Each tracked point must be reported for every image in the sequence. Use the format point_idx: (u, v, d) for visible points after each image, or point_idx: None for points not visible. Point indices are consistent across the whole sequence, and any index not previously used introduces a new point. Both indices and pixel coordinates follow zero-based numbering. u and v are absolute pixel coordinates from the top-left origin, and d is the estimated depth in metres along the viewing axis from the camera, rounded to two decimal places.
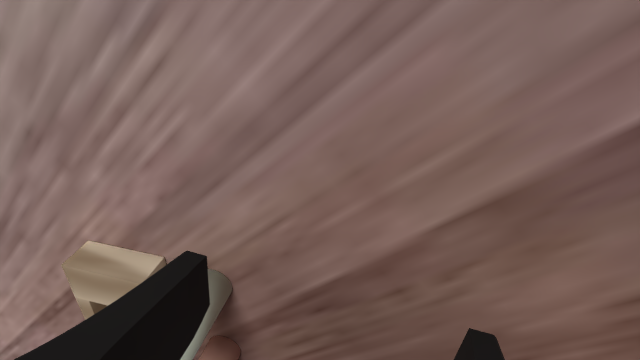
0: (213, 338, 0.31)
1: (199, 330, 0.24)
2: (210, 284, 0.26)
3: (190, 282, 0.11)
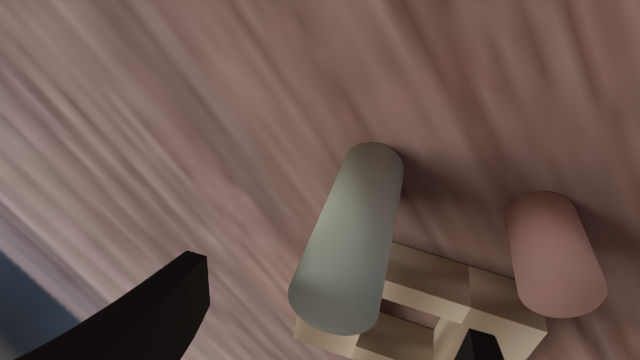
0: (506, 226, 0.17)
1: (346, 197, 0.14)
2: (342, 166, 0.17)
3: (190, 282, 0.11)
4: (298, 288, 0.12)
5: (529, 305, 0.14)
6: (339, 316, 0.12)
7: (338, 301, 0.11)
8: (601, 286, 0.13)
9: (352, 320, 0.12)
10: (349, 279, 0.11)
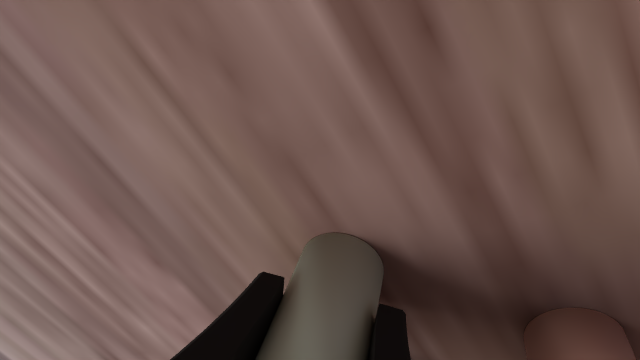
0: (525, 348, 0.12)
1: (286, 350, 0.09)
2: (295, 269, 0.12)
3: (272, 306, 0.10)
4: None
5: None
6: None
7: None
8: None
9: None
10: None
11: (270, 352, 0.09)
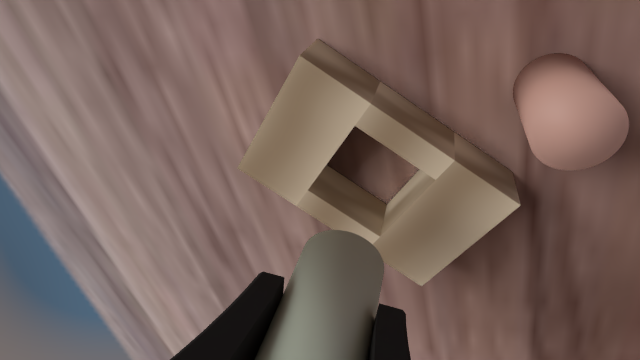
0: (514, 87, 0.16)
1: (287, 343, 0.09)
2: (296, 266, 0.12)
3: (272, 305, 0.10)
4: None
5: (535, 147, 0.13)
6: None
7: None
8: (620, 134, 0.12)
9: None
10: None
11: (271, 346, 0.09)
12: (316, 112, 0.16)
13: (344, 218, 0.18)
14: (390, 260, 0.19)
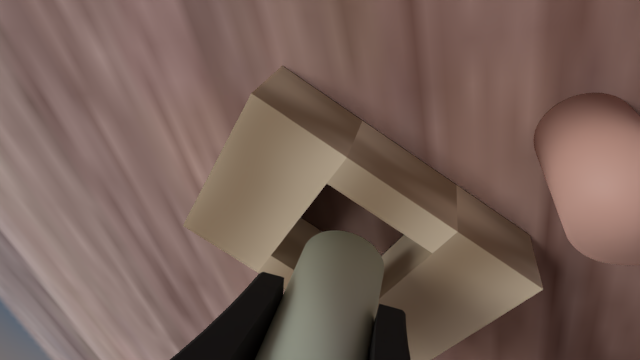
0: (536, 135, 0.12)
1: (287, 344, 0.09)
2: (296, 267, 0.12)
3: (272, 306, 0.10)
4: None
5: (571, 233, 0.09)
6: None
7: None
8: None
9: None
10: None
11: (271, 347, 0.09)
12: (276, 164, 0.12)
13: None
14: None
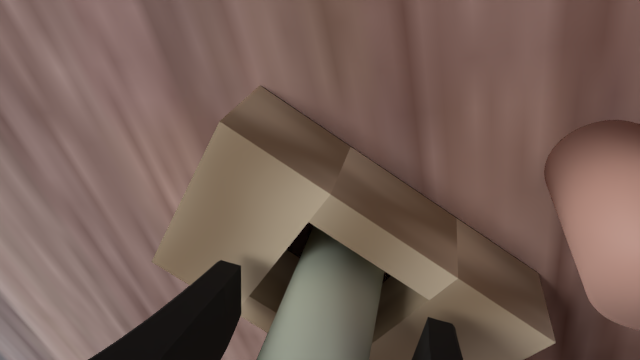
0: (548, 167, 0.11)
1: (302, 308, 0.10)
2: (307, 243, 0.13)
3: (226, 292, 0.10)
4: None
5: (594, 295, 0.08)
6: None
7: None
8: None
9: None
10: None
11: (287, 311, 0.10)
12: (251, 200, 0.11)
13: None
14: None
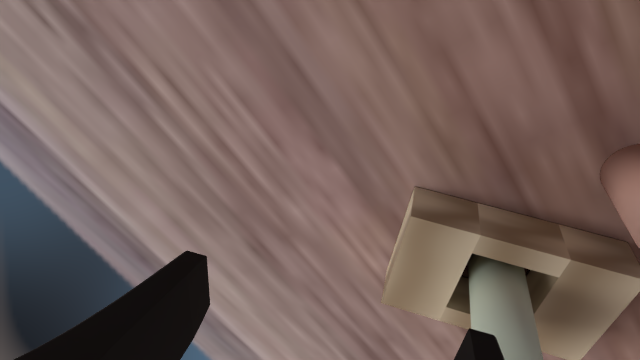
0: (601, 180, 0.18)
1: (486, 299, 0.18)
2: (469, 265, 0.21)
3: (190, 282, 0.11)
4: None
5: None
6: None
7: None
8: None
9: None
10: None
11: (478, 304, 0.18)
12: (436, 250, 0.19)
13: None
14: None
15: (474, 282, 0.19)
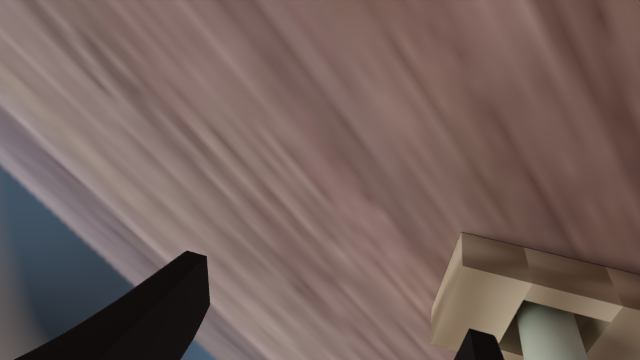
0: None
1: (541, 346, 0.18)
2: None
3: (190, 282, 0.11)
4: None
5: None
6: None
7: None
8: None
9: None
10: None
11: (532, 350, 0.19)
12: (487, 297, 0.20)
13: None
14: None
15: (525, 326, 0.20)
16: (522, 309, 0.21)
